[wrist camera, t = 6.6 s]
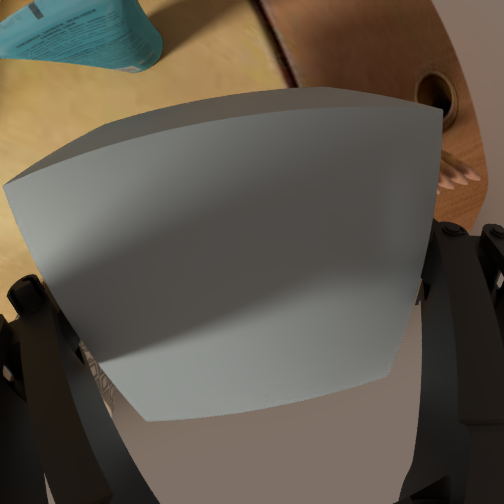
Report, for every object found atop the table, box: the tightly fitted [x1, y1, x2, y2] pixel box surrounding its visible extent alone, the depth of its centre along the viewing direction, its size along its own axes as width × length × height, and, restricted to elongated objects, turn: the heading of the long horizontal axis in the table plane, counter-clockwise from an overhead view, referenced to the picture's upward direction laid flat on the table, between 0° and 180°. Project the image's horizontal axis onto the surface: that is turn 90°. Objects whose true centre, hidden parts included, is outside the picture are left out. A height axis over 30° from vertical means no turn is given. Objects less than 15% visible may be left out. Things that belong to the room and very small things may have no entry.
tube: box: [0, 0, 163, 73], centre depth 13 cm, size 7×5×19 cm, turn 103°
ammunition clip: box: [437, 150, 481, 194], centre depth 25 cm, size 11×2×12 cm, turn 106°
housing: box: [3, 87, 443, 421], centre depth 11 cm, size 10×10×8 cm
